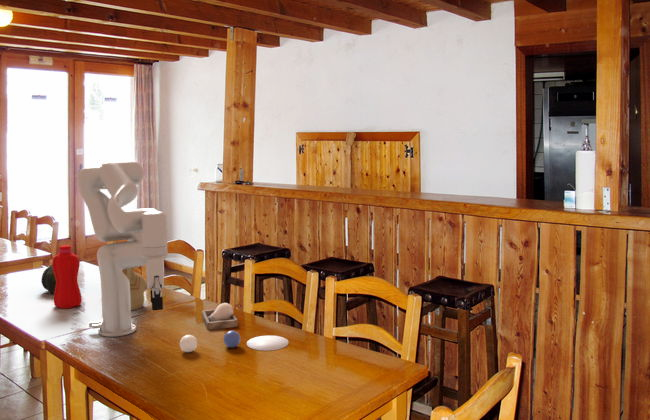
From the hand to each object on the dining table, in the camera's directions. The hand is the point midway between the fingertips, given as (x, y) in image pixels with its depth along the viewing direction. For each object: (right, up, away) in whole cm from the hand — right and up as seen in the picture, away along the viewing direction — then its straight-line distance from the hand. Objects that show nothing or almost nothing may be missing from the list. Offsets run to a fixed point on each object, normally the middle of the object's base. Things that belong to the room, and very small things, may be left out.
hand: (156, 305), depth 185 cm
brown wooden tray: (+13, -12, +36) cm, 40 cm away
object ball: (+22, -12, +9) cm, 27 cm away
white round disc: (+34, -15, +13) cm, 39 cm away
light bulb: (+13, -12, +36) cm, 40 cm away
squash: (-65, -6, +78) cm, 102 cm away
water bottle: (-53, -9, +56) cm, 77 cm away
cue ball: (+9, -13, +5) cm, 16 cm away
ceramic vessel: (-28, -10, +54) cm, 61 cm away
